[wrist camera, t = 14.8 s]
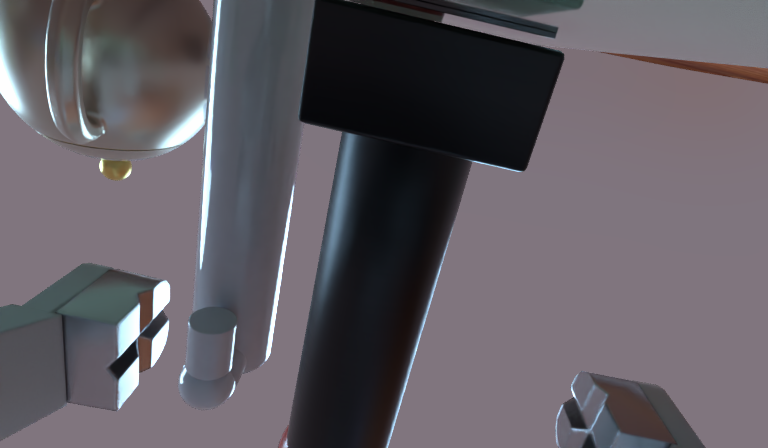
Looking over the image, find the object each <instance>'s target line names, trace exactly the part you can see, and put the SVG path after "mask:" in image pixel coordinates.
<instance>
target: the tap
mask: <svg viewBox="0 0 768 448" xmlns="http://www.w3.org/2000/svg"><path fill="white" fill-rule="evenodd" d="M347 1H352V2H356V3H360V4H364V5H369V6H373V7H377V8H381V9H386V10H390V11H394V12H398V13H403V14H407V15H411V16H415V17H420V18H424V19H428V20H432V21H437V22H441V23H445V24H449V25H454V26H458V27H463V28H467V29H471V30H475V31H479V32H484V33H488V34H492V35H496V36H501V37H505V38H509V39H513V40H518V41H522V42H526V43H530V44H535V45H539V46H549V47H559V48H569V49H580V50H591V51H600V52H610V53H620V54H630V55H640V56H650V57H660V58H670V59H680V60H690V61H700V62H710V63H720V64H730V65H740V66H750V67H760V68H768V0H347ZM313 7H314V0H214V5H213V19H212V33H211V47H210V62H209V76H208V91H207V106H206V120H205V135H204V136H205V137H204V149H203V164H202V179H201V193H200V209H199V222H198V237H197V253H196V267H195V282H194V295H193V312H192V314H191V316H190V317H189V320H188V330H187V347H186V361H185V366H184V367H183V369H182V371H181V373H180V375H179V380H178V389H179V393H180V395H181V397H182V399H183V400H184V402H185V403H186V404H188V405H189V406H191V407H193V408H195V409H199V410H209V409H214V408H216V407H218V406H220V405H222V404H223V403H225V402H226V401H227V400H228V399H229V398H230V396H231V395H232V393H233V391H234V389H235V387H236V385H237V383H238V381H239V379H240V377H241V375H242V374H244V373H248V372H250V371H253V370H255V369H257V368H258V367H260V366H261V365H262V364H263V363H265V361H266V360H267V359H268V357H269V355H270V350H271V343H272V336H273V330H274V323H275V316H276V310H277V302H278V297H279V289H280V283H281V276H282V270H283V263H284V256H285V250H286V243H287V236H288V229H289V223H290V216H291V210H292V202H293V196H294V189H295V183H296V176H297V169H298V162H299V156H300V149H301V142H302V136H303V129H304V123H302V122H301V121H299V118H298V112H299V105H300V98H301V91H302V84H303V77H304V70H305V63H306V56H307V49H308V42H309V35H310V28H311V21H312V14H313Z"/></svg>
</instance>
